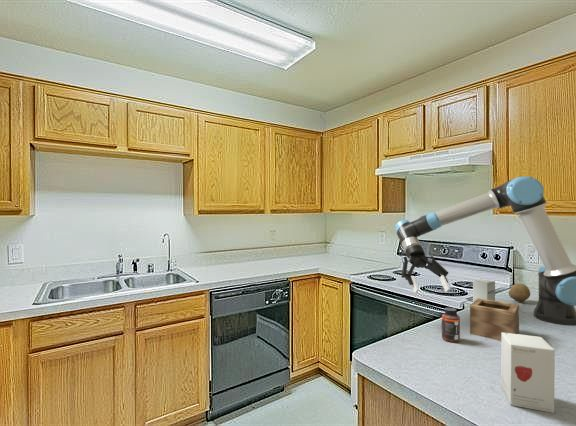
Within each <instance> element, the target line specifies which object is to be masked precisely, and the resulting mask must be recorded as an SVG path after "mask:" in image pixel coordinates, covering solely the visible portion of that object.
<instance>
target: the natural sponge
mask: <svg viewBox="0 0 576 426" xmlns="http://www.w3.org/2000/svg"><path fill="white" fill-rule="evenodd" d="M508 296H509V298H511V299H513V300H514V301H515V302H517V303H524V302H525V301H526V300H528V299H529V298H530V296H531V290H530V289H529V287H528V286H527V285H526V284H523V283H519V282H517V283H514V284H513V285H511V287H510V289H509V291H508Z"/></svg>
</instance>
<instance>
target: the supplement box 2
mask: <svg viewBox="0 0 576 426" xmlns="http://www.w3.org/2000/svg"><path fill="white" fill-rule="evenodd" d="M500 342H501V344H500V345H501V347H500V349H501V350H500V351H501V352H500V356H501V359H500V360H501V361H500V389H502V392H503V394H504V396H505V398H506V399H507V401H508V403H509V405H510V406H514V407H519V408H524V409H530V410H536V411H540V412H545V413H546V412H547V413H550V414H554V413H555V370H556V369H555V363H556V362H555V352H556V351H555V349H554V347H552V345H550V344H549V343H548V342H547V341H546V339H545V340H544V338H543V337H541V336H535V335H527V334H520V333H519V334H511V333H503V332H502V333H501V341H500Z"/></svg>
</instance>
